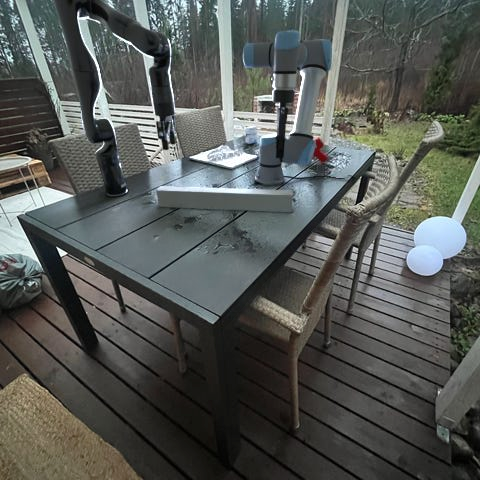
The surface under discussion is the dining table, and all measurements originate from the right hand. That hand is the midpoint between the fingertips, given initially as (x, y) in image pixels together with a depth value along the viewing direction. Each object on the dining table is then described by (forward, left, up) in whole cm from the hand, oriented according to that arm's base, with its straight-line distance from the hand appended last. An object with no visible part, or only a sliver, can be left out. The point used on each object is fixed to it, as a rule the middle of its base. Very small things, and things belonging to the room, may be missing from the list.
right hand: (279, 152), depth 103 cm
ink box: (+43, -111, -24) cm, 122 cm away
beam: (+22, +4, -24) cm, 32 cm away
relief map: (+48, -63, -24) cm, 83 cm away
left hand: (+42, +9, +1) cm, 43 cm away
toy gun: (-7, -72, -24) cm, 76 cm away
